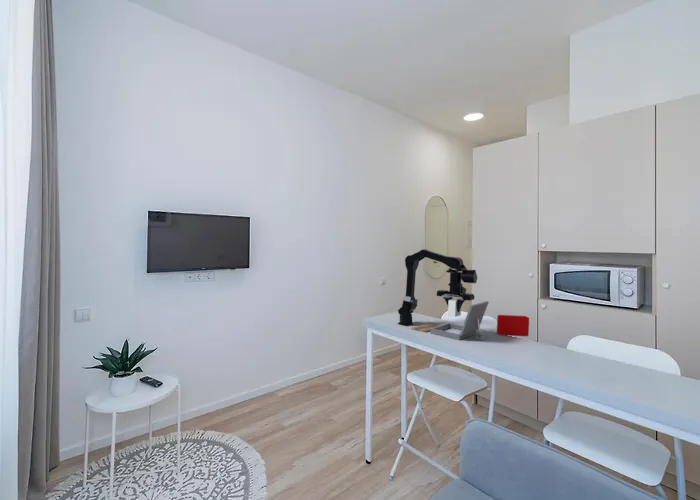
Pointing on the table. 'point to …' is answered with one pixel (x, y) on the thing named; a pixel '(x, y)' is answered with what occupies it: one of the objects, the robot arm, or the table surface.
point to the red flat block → (512, 325)
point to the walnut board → (426, 327)
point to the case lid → (473, 317)
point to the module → (453, 308)
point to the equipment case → (452, 335)
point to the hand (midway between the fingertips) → (454, 311)
